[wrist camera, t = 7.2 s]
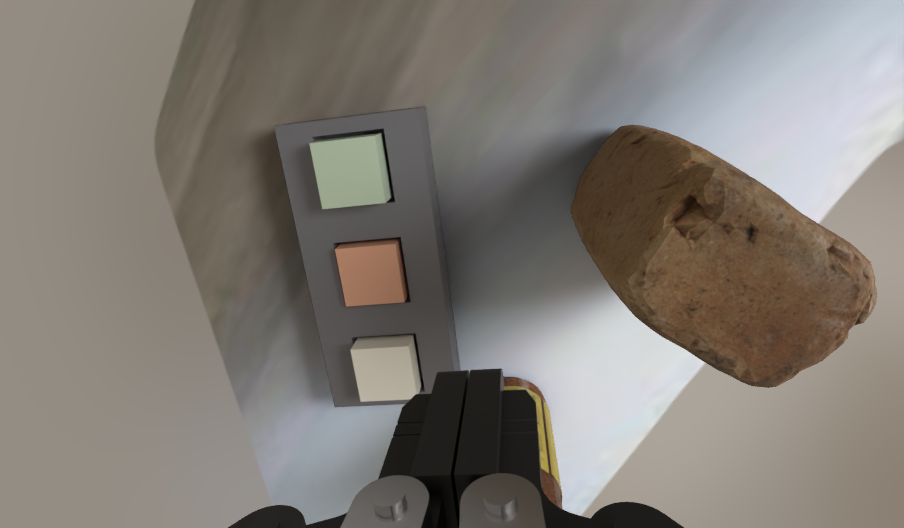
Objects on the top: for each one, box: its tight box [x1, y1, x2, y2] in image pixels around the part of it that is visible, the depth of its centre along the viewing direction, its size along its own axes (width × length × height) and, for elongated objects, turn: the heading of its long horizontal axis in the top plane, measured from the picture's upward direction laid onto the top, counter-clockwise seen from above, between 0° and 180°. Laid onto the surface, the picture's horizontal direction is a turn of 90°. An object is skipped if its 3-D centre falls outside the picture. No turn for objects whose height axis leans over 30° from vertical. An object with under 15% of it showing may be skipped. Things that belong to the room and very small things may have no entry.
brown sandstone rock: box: [571, 125, 877, 388], centre depth 29 cm, size 11×8×20 cm
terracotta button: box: [335, 237, 409, 307], centre depth 40 cm, size 4×4×2 cm
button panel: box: [274, 106, 460, 407], centre depth 41 cm, size 22×10×3 cm, turn 7°
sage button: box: [309, 133, 392, 209], centre depth 37 cm, size 4×4×2 cm
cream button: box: [350, 334, 421, 402], centre depth 41 cm, size 4×4×2 cm
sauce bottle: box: [503, 377, 562, 509], centre depth 36 cm, size 6×6×20 cm
